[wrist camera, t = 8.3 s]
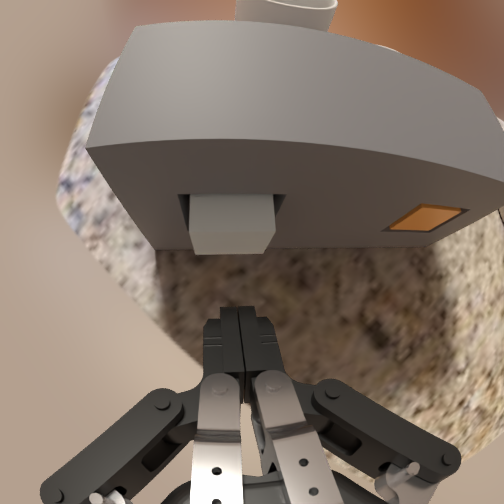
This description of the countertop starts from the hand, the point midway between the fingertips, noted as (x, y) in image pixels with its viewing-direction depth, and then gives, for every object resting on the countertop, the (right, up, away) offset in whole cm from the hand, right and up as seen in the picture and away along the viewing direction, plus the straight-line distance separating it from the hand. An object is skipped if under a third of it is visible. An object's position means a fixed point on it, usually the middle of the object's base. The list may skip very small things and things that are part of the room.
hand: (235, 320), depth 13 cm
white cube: (-1, +5, +3) cm, 6 cm away
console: (+5, +7, +9) cm, 12 cm away
